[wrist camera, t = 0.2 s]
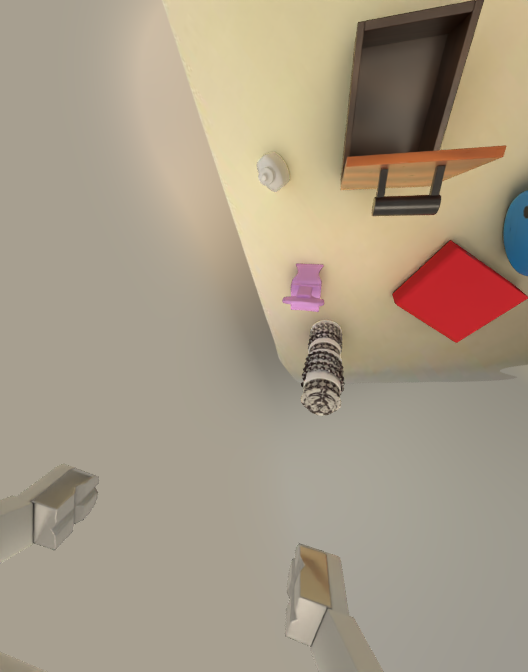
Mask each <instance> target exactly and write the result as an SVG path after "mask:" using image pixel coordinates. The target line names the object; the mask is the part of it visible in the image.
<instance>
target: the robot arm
mask: <svg viewBox="0 0 528 672" xmlns="http://www.w3.org/2000/svg"><path fill="white" fill-rule="evenodd" d="M98 483H99V477H98V476H96V475H93V474H90V473H88V472H85V471H82V470H80V469H77V468H74V467H71V466H69V465H66V464H61V465H59V466H57V467H56V468H54V469H53V470H52V471H50V472H49V473H48V474H46V475H45V476H44V477H42V478H41V479H40V480H38V481H37V482H35V483H34V484H33V485H31V486H30V487H29V488H28V489H26V490H25V491H23V492H22V493H21V494H20V495H18V496H17V497H15V496H10V497H8V498H5V499H2V500H0V563H2V562H3V561H5V560H7V559H9V558H11V557H12V556H14V555H16V554H17V553H19V552H21V551H23V550H24V549H26V548H28V547H30V546H31V545H32V544H33V543H34V544H37V545H40V546H43V547H47V548H50V549H53V550H56V549H57V548H58V547H59V546H60V545H61V543H62V542H63V541H64V540H65V539H66V538H67V537H68V536H69V535H70V534H71V533H72V531H73V527H74V524H76V523H78V522H80V521H82V520H84V518H85V517H86V516H87V515H88V514H89V513H90V511H91V510H92V508H93V507H94V505H95V503H96V500H97V495H98V492H97V490H96V488H95V486H96V485H97V484H98ZM287 594H288V596H289V599H290V600H289V603H288V606H287V608H286V628H285V636H286V637H288V638H290V639H293V640H295V641H298V642H300V643H302V644H305V645H307V646H310V647H311V652H312V655H313V658H314V660H315V664H316V666H317V669H318V672H383V670H382V668H381V666H380V664H379V663H378V661H377V659H376V657H375V655H374V653H373V652H372V650H371V648H370V646H369V644H368V643H367V641H366V639H365V637H364V635H363V634H362V632H361V630H360V628H359V626H358V625H357V623H356V621H355V619H354V618H353V617H351V616H349V612H348V605H347V598H346V591H345V585H344V578H343V571H342V564H341V560H340V558H339V557H338V556H336V555H333V554H329V553H326V552H324V551H322V550H318V549H315V548H312V547H309V546H306V545H303V544H298V545H297V547H296V550H295V558H294V559H292V562H291V565H290V569H289V574H288V583H287ZM0 672H46V671H44V670H42V669H39V668H37V667H35V666H32V665H30V664H28V663H25V662H23V661H20V660H18V659H16V658H13V657H11V656H9V655H6V654H4V653H2V652H0Z"/></svg>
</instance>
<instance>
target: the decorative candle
mask: <svg viewBox="0 0 528 672" xmlns="http://www.w3.org/2000/svg"><path fill="white" fill-rule="evenodd" d="M310 333H311V335H310V337H311V338H310V339H309V343H308V345H309V346H308V349H309V354H308V356H307V358H306V362H305V368H304V369H303V370H304V372H303V374H302V376H303V380H304V382H303V383H301V386H302V387H303V389H304V392H303V394H302V396H301V403H302V404H303V405H304V407H306V408H307V409H308V410H309V411H310V412H312V413H314V414H316V415H329V414H331V413H333V412H334V411H337V410H338V409H339V408H340V407H341V400H340V395H341V391H343V390H344V388H343V386H344V382H343V381H344V377H343V370H342V369H343V366H342V359H341V357H340V356H341V352H342V350H341V349H342V346H341V345H342V330H341V328H340V326H339V325H338V324H337V323H336V322H334V321H331V320H321V321H318V322H316V323H315V324H314V325H313V326H312V328H311V331H310ZM339 370H340V371H339Z"/></svg>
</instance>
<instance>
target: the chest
mask: <svg viewBox="0 0 528 672" xmlns="http://www.w3.org/2000/svg"><path fill="white" fill-rule="evenodd" d="M483 2H484V0H476V1H475V0H472V1H467V2H462V3H457V4H451V5H446V6H441V7H435V8H430V9H425V10H420V11H414V12H409V13H404V14H398V15H393V16H388V17H383V18H377V19H372V20H367V21H362V22H358V26H357V32H356V39H355V46H354V56H353V65H352V75H351V85H350V94H349V104H348V114H347V124H346V133H345V143H344V153H343V162H342V172H341V183H342V178H343V173H344V169H345V164H346V160H347V157H353V156H367V155H381V154H395V153H409V152H423V151H437V150H440V147H441V143H442V140H443V137H444V133H445V130H446V126H447V123H448V120H449V116H450V113H451V110H452V106H453V103H454V100H455V96H456V93H457V89H458V86H459V83H460V79H461V76H462V73H463V69H464V66H465V63H466V59H467V56H468V52H469V49H470V46H471V42H472V39H473V36H474V32H475V29H476V26H477V22H478V19H479V15H480V12H481V9H482V5H483Z"/></svg>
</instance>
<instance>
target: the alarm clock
mask: <svg viewBox="0 0 528 672" xmlns="http://www.w3.org/2000/svg"><path fill="white" fill-rule="evenodd" d="M503 236H504V246H505V251H506V254H507V257H508V259H509V262H510V263H511V265H512V266H513V268H514V269H515V270H516V271H517V272H519V273H520V274H522V275H525V276H528V190H527V191H524V192H522V193H521V194H519V195H518V196H517V197H516V198H515V199H514V200H513V202H512V203H511V205H510V207H509V209H508V211H507V214H506V218H505V222H504V232H503Z"/></svg>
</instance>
